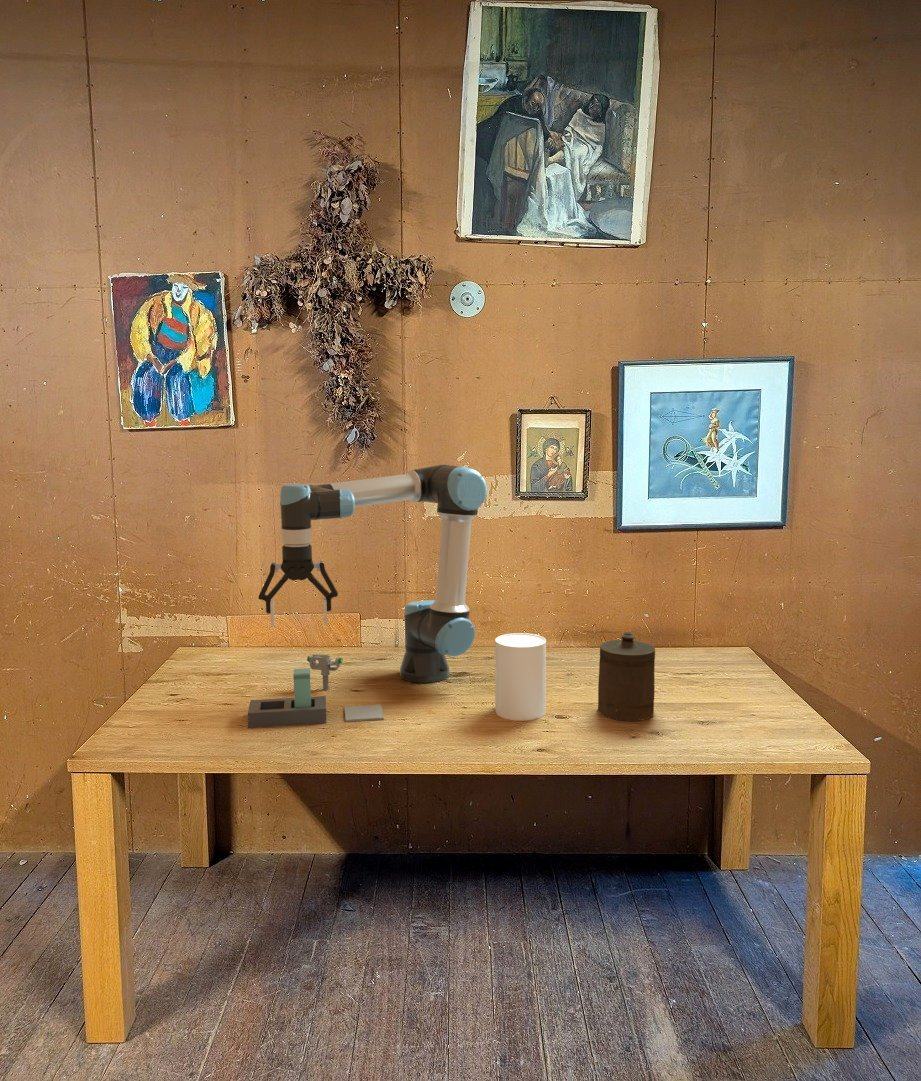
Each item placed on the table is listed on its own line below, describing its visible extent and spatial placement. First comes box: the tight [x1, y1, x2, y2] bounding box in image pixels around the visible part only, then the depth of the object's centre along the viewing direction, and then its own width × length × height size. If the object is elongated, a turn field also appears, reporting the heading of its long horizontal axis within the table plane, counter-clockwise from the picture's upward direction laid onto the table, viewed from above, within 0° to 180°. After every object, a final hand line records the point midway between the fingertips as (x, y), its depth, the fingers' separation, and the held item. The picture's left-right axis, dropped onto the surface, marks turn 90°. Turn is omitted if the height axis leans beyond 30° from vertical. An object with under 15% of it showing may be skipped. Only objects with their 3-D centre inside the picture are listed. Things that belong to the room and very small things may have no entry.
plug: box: [292, 667, 312, 708], centre depth 234 cm, size 4×4×13 cm
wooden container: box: [597, 631, 656, 722], centre depth 237 cm, size 15×15×22 cm
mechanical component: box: [306, 653, 343, 691], centre depth 257 cm, size 3×10×10 cm, turn 79°
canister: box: [494, 632, 547, 722], centre depth 237 cm, size 14×14×20 cm
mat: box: [344, 704, 385, 723], centre depth 238 cm, size 10×10×1 cm
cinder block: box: [247, 695, 327, 729], centre depth 234 cm, size 20×10×4 cm, turn 99°
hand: (299, 624), depth 231 cm, fingers open, 13 cm apart
